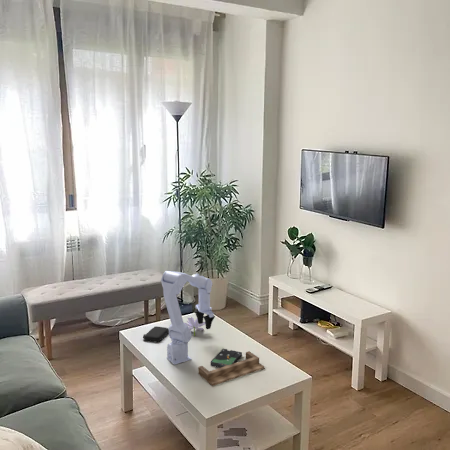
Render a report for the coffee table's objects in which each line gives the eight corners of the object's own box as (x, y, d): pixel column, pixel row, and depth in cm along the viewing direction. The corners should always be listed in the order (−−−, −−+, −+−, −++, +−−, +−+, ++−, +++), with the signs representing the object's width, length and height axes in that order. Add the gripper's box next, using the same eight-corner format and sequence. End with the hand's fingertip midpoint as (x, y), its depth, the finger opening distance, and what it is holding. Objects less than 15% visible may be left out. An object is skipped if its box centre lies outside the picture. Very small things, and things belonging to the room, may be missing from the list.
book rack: (212, 386, 199) (212, 378, 198) (198, 374, 209) (198, 366, 208) (264, 368, 214) (264, 361, 213) (249, 358, 224) (249, 351, 223)
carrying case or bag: (152, 329, 256) (140, 341, 242) (152, 324, 255) (140, 335, 241) (170, 332, 253) (159, 343, 239) (170, 327, 252) (158, 338, 238)
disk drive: (222, 353, 229) (210, 366, 216) (222, 348, 229) (210, 361, 215) (242, 357, 226) (231, 371, 212) (242, 352, 225) (231, 365, 212)
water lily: (188, 343, 254) (188, 327, 260) (213, 338, 250) (213, 322, 255) (175, 333, 244) (176, 317, 249) (201, 327, 239) (201, 311, 244)
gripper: (218, 303, 230) (218, 329, 233) (203, 294, 242) (203, 319, 245) (206, 306, 227) (206, 332, 229) (191, 297, 239) (192, 322, 241)
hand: (204, 326), depth 237 cm, fingers open, 7 cm apart
